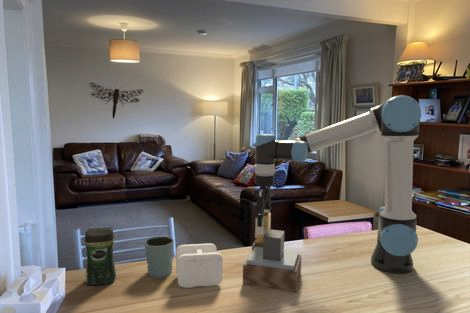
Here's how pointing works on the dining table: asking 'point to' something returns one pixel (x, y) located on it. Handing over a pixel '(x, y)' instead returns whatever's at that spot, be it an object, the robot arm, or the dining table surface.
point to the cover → (273, 252)
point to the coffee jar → (99, 256)
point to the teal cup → (159, 256)
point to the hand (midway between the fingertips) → (262, 229)
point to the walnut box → (271, 275)
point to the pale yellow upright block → (266, 226)
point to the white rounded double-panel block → (198, 265)
